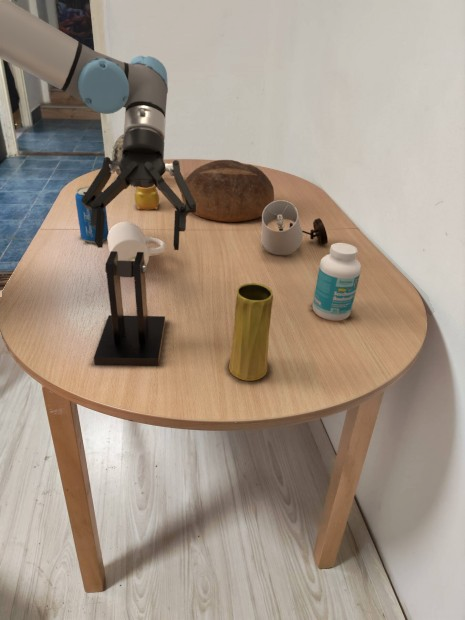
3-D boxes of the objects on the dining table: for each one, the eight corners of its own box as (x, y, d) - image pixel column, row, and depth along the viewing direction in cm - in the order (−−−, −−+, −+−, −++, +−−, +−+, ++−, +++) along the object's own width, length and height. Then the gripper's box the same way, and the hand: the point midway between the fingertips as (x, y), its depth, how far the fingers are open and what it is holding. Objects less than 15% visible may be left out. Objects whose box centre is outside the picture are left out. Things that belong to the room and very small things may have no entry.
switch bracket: (109, 321, 81) (99, 240, 73) (165, 322, 82) (162, 242, 73) (94, 364, 71) (81, 276, 63) (158, 365, 72) (154, 278, 63)
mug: (111, 276, 95) (108, 241, 91) (109, 255, 103) (105, 222, 99) (168, 271, 98) (167, 237, 94) (161, 251, 106) (160, 219, 102)
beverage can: (77, 243, 107) (70, 194, 101) (86, 232, 113) (79, 185, 106) (104, 245, 107) (99, 195, 101) (112, 234, 113) (107, 186, 106)
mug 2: (158, 211, 128) (157, 187, 124) (133, 210, 127) (132, 187, 123) (160, 196, 138) (160, 174, 134) (137, 196, 137) (136, 174, 133)
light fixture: (258, 240, 118) (251, 204, 102) (315, 220, 117) (317, 181, 101) (270, 273, 114) (265, 242, 98) (329, 253, 114) (334, 218, 98)
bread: (183, 191, 143) (183, 148, 136) (267, 194, 144) (271, 152, 137) (178, 222, 121) (177, 173, 114) (277, 226, 123) (283, 177, 115)
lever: (127, 276, 81) (127, 255, 80) (148, 276, 81) (148, 256, 80) (112, 280, 68) (112, 256, 67) (136, 281, 68) (136, 257, 67)
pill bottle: (331, 327, 83) (345, 261, 76) (303, 308, 88) (314, 244, 81) (358, 315, 87) (374, 251, 80) (330, 297, 92) (342, 236, 85)
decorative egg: (106, 180, 148) (101, 132, 140) (134, 173, 156) (131, 127, 148) (129, 189, 142) (126, 139, 134) (157, 181, 150) (155, 134, 142)
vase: (256, 386, 69) (264, 307, 61) (221, 372, 71) (225, 294, 63) (273, 364, 73) (283, 288, 66) (240, 352, 76) (245, 277, 68)
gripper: (70, 123, 80) (59, 236, 76) (211, 129, 82) (208, 241, 77) (81, 146, 88) (71, 251, 83) (210, 152, 89) (207, 255, 84)
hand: (137, 246), depth 80 cm, fingers open, 13 cm apart
